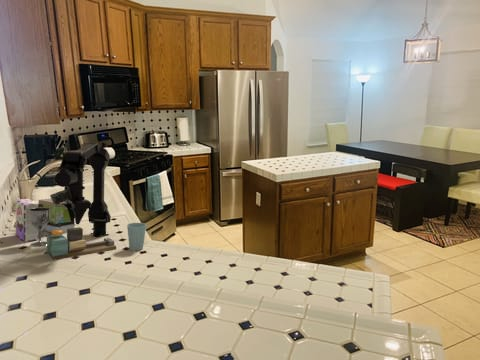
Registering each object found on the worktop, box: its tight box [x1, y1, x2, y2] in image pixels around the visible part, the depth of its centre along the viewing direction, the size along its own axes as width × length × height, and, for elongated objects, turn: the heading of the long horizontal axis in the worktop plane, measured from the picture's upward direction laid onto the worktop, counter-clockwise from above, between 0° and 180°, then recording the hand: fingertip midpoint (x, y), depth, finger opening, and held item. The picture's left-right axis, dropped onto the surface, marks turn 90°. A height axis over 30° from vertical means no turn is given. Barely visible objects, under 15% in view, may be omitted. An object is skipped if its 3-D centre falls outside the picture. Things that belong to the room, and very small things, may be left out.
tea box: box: [37, 198, 76, 234], centre depth 173 cm, size 15×10×15 cm, turn 58°
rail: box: [45, 234, 117, 260], centre depth 145 cm, size 10×24×7 cm, turn 133°
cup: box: [126, 222, 147, 251], centre depth 151 cm, size 8×8×10 cm
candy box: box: [14, 198, 39, 243], centre depth 158 cm, size 14×6×16 cm, turn 45°
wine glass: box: [29, 207, 51, 248], centre depth 150 cm, size 8×8×15 cm
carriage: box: [66, 226, 87, 251], centre depth 142 cm, size 7×6×8 cm
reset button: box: [51, 230, 63, 236], centre depth 138 cm, size 4×4×1 cm
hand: (74, 222), depth 142 cm, fingers open, 6 cm apart
